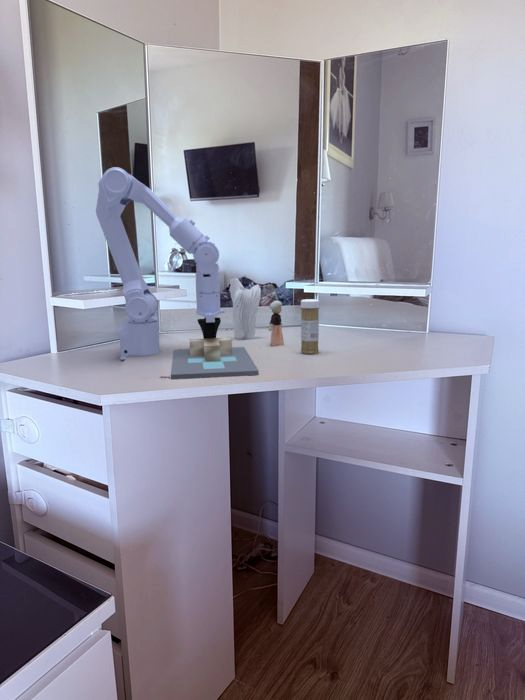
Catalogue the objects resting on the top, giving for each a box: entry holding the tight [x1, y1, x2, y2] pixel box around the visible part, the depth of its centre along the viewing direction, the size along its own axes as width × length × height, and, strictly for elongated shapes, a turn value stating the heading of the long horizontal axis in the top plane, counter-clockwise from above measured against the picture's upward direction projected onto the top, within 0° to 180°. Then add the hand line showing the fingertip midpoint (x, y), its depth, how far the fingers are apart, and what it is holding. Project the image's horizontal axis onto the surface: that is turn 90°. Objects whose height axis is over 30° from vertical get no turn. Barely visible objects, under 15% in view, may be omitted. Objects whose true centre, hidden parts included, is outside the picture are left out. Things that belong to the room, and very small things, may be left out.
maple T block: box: [189, 337, 233, 361], centre depth 115 cm, size 10×10×4 cm
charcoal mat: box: [170, 346, 260, 380], centre depth 112 cm, size 18×26×1 cm
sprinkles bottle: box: [300, 298, 320, 355], centre depth 121 cm, size 5×5×14 cm
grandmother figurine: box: [268, 300, 285, 347], centre depth 128 cm, size 8×4×13 cm, turn 168°
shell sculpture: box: [229, 277, 262, 340], centre depth 138 cm, size 8×8×18 cm
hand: (209, 347), depth 121 cm, fingers closed
